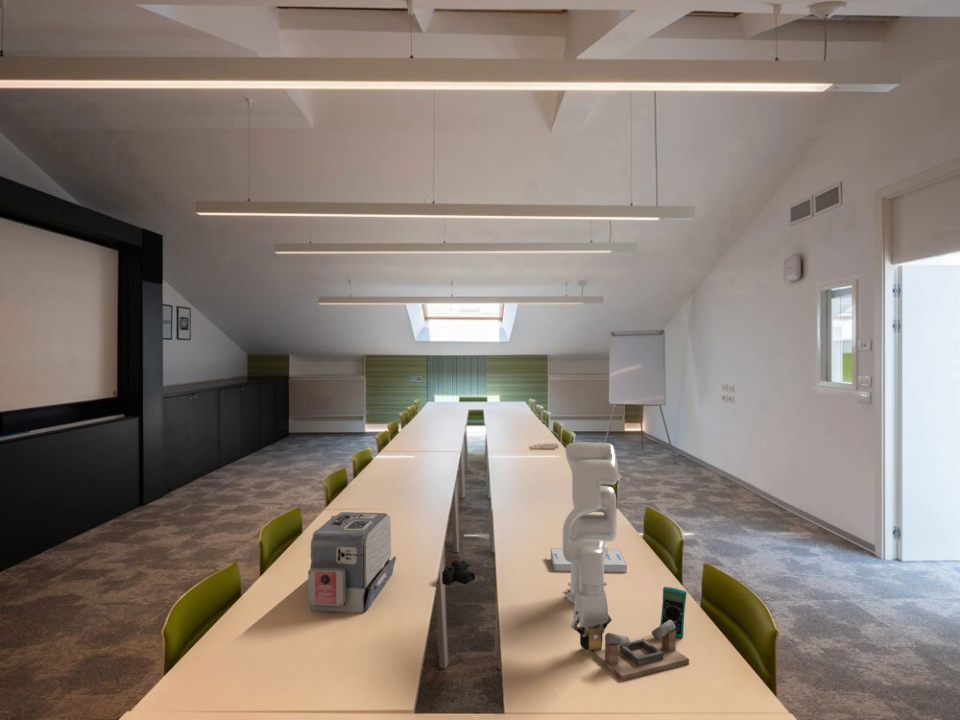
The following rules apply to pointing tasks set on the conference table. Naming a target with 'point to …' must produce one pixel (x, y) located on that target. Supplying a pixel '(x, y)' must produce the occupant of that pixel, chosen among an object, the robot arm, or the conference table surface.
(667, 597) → the digital multimeter
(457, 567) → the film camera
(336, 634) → the conference table surface
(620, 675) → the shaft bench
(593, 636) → the block
